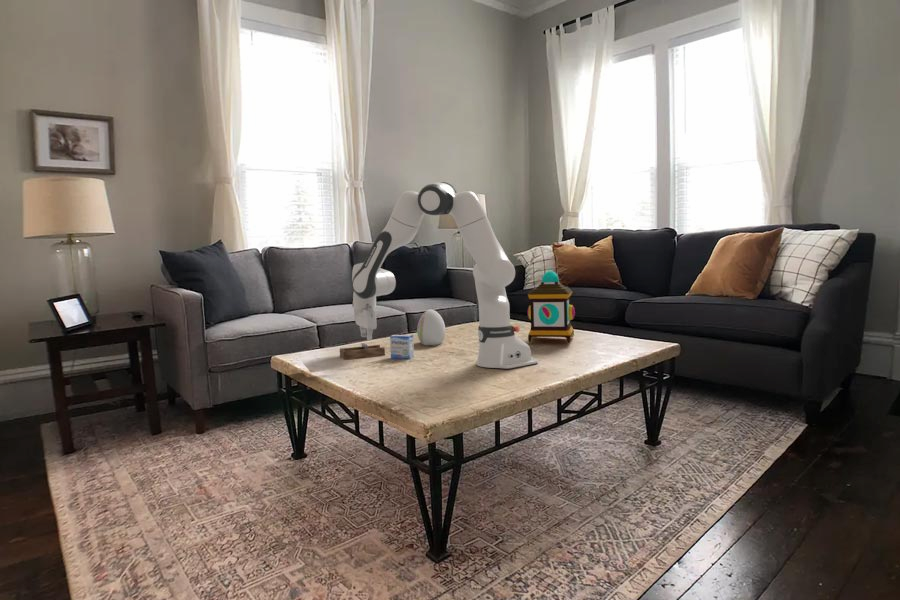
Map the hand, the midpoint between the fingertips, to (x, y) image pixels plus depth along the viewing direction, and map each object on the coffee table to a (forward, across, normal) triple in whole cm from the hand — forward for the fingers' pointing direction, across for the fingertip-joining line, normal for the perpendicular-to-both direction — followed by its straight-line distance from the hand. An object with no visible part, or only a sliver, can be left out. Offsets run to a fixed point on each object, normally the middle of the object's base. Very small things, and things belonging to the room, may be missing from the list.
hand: (366, 338), depth 214 cm
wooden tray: (+7, 0, +2) cm, 7 cm away
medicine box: (+7, -13, -10) cm, 18 cm away
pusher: (+7, 0, +2) cm, 7 cm away
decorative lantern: (+7, -11, -78) cm, 79 cm away
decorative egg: (+7, +10, -31) cm, 33 cm away
